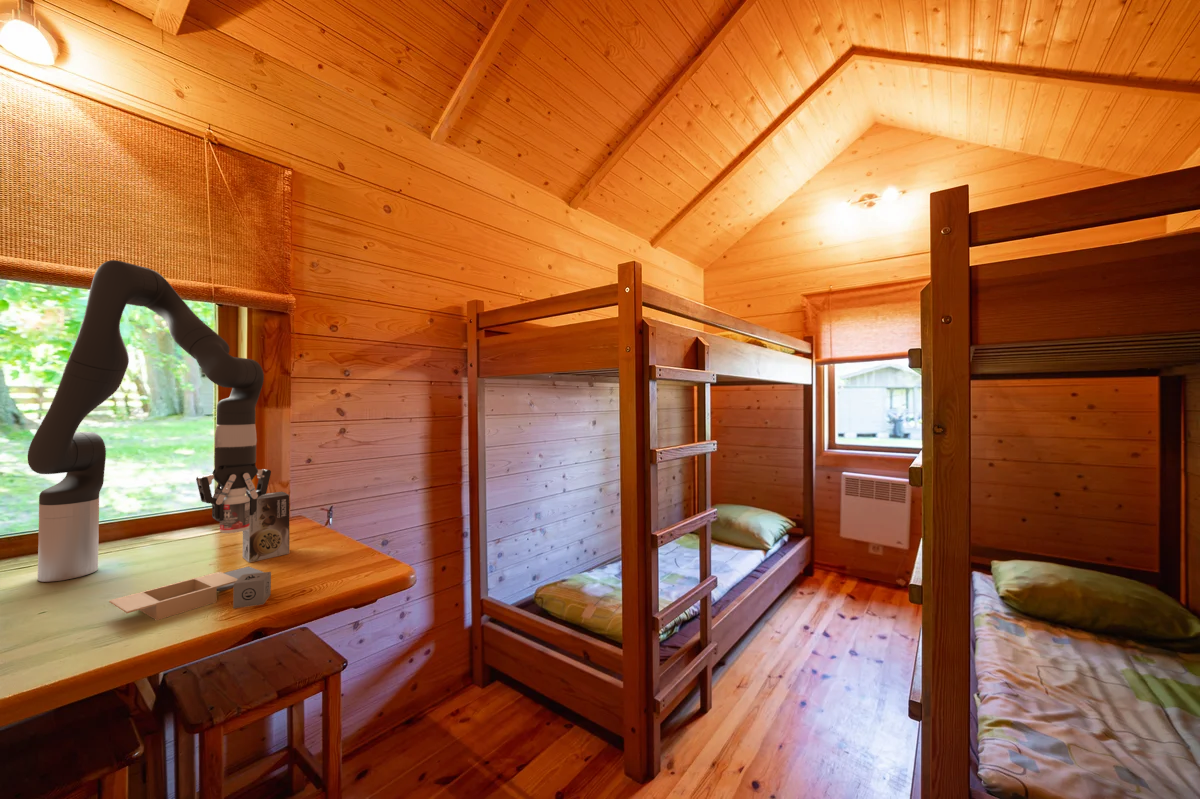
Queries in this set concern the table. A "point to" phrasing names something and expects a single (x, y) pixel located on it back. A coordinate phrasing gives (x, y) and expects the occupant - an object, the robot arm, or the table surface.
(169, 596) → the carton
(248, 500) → the pill bottle
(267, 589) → the dice cube
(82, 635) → the table surface
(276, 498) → the coffee box
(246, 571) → the mat
